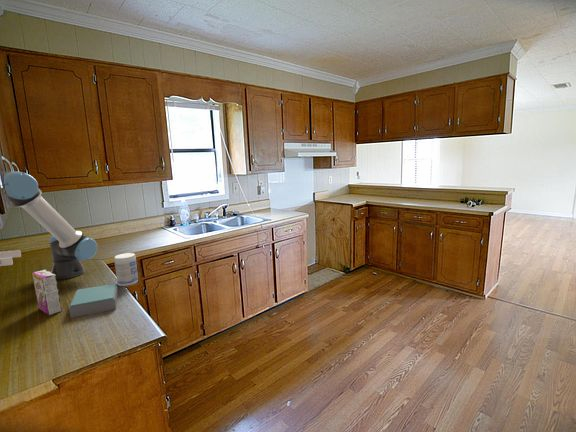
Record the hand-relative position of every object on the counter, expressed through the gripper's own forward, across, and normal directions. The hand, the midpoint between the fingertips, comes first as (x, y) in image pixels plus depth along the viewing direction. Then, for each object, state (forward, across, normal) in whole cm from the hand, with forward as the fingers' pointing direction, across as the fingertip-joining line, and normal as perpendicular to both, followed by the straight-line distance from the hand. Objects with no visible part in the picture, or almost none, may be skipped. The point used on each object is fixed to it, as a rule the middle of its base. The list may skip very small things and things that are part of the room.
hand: (16, 257), depth 122 cm
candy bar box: (+9, 0, -24) cm, 26 cm away
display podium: (+26, +4, -23) cm, 35 cm away
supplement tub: (+39, -15, -22) cm, 47 cm away
